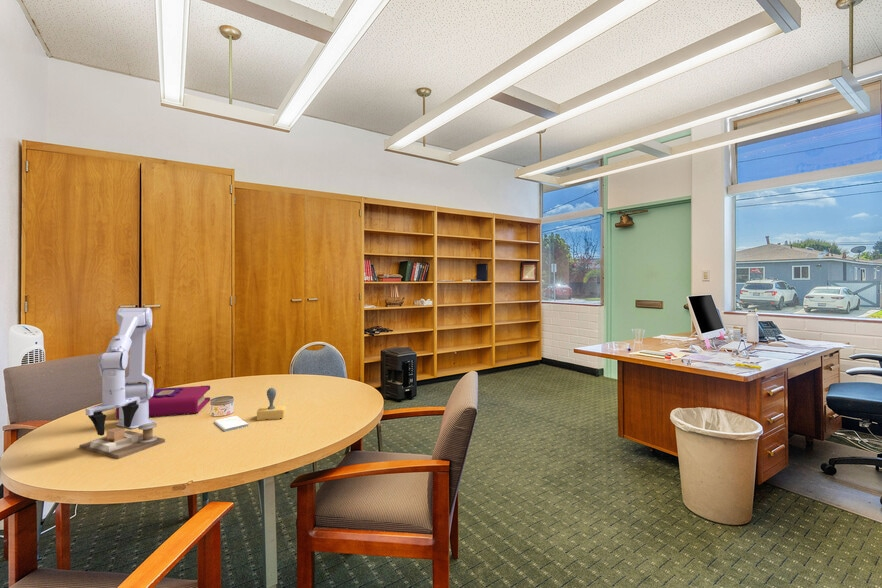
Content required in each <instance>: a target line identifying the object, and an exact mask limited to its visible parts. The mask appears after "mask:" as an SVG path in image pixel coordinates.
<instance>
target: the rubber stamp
mask: <svg viewBox="0 0 882 588" xmlns="http://www.w3.org/2000/svg"><path fill="white" fill-rule="evenodd" d="M276 394H277V391H276V389H275V388H274V387H270V388H268V389H267V390H266V397H267V399H268V403H269V406H260V407H259V408H258V409H257V410H256V421H266V420H265V419H272V420H281V419H280V418H284V419H285V417H286V415H285V414H286V413H287V412H286V405H278V406H277V405H274V401H275V398H276V396H277V395H276ZM284 416H285V417H284Z"/></svg>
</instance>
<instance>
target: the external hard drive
mask: <svg viewBox="0 0 882 588" xmlns="http://www.w3.org/2000/svg"><path fill="white" fill-rule="evenodd" d="M214 424H215V425H216V426H217V427H218V428H220V429H221V430H222V431H223V432H229V431H233V430H238V428H239V429H243V428H246V426H247V427H249V423H247V422H246V421H245V420H243V419H242V418H241V417H239V416H238V415H234V416H230V417H229V416H228V417H225V418H220V419H216V420H214ZM242 427H243V428H242Z"/></svg>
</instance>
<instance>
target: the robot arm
mask: <svg viewBox="0 0 882 588" xmlns="http://www.w3.org/2000/svg"><path fill="white" fill-rule="evenodd" d="M115 313H116V315H115V320H116V323H117V324H118V326H119V327H118V331H117V334H116V335H115V336H114V335H113V337H112V338H111V339H110V341H109V343H108V344H107V345H108V346H107V348H106V351H105V352H104V353H102V354H100V355H99V358H98V363H97V364H98V365H97V366H98V369H99V374H100V377H101V380H102V381H101V384H102V385H101V386H102V387H101V388H102V394H101V395H102V396H101V398H102V403H100V404H97V405H94V406H90V407H87V408H85V415H86V416H87V417H88V418H89V420H90V421H91V422H92V424H93V426H94V427H95V430H96V434H97V435H98V436H101V437H103V436H105V431H106V429H105V423H106V417H107V414H104V412H107V411H110V410H116V408H119V419H118V423H116V426H119V427H122V428H128V429H136V428H138V427H139V426H140V425H143V424H147V423H155V420H153V419H150V417H149V399H151V397H152V396H153V393H154V389H155V385H154V380H153V377H151V376H149V375H148V374H146V373H145V368H146V367H145V365H146V364H145V363H146V336H147V331H149V330H151V329H152V326H153V311H152V308H151V307H124V308H123V307H119V308H118V309H117V310H116V312H115ZM127 367H129V368H128V375H127V376H126V369H127Z"/></svg>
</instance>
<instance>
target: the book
mask: <svg viewBox="0 0 882 588" xmlns="http://www.w3.org/2000/svg"><path fill="white" fill-rule="evenodd" d="M210 390H211V385H210V384H209V385H208V384H207V385H198V386H195V385H194V386H179V387H178V386H177V387H161V388H159V387H157V388H154V393H153V396H152V397H151V399H149V418H151V417H152V418H153V417H164V416H179V415H193V414H194V415H195V413H196V414H199V413H200V411H202V409H203V408H205V406H206V405H207V404H208V403H209V402H210V401H211V397H210V396H209V397H208V396H207V397H205V394H206V393H207V392H208V391H210ZM115 413H116V414H115V416H116V419H117V420H119V408H115Z"/></svg>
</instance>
